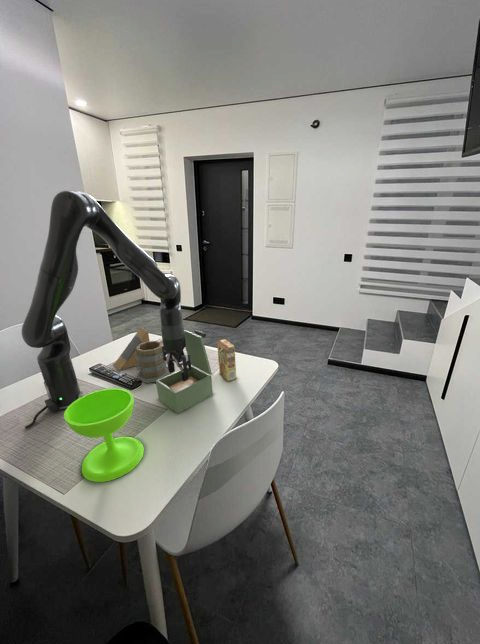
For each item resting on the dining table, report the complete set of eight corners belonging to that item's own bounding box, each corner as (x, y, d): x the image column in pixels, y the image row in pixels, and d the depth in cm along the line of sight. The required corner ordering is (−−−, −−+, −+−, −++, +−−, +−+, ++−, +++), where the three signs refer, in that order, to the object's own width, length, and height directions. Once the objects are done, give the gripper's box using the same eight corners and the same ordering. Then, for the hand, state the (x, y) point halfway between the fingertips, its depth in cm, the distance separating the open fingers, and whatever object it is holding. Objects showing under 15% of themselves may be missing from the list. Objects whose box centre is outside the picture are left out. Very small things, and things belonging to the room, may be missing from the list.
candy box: (236, 378, 121) (235, 345, 115) (227, 381, 119) (226, 348, 113) (227, 370, 128) (225, 338, 122) (218, 372, 125) (216, 340, 120)
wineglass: (115, 432, 90) (103, 383, 84) (156, 446, 85) (146, 395, 78) (67, 471, 77) (48, 416, 70) (112, 490, 71) (96, 432, 65)
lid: (200, 337, 98) (211, 331, 101) (179, 328, 106) (190, 323, 109) (210, 375, 106) (220, 368, 110) (190, 364, 114) (200, 358, 117)
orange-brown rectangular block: (178, 404, 103) (176, 392, 101) (169, 398, 106) (168, 386, 104) (200, 392, 110) (199, 381, 108) (192, 387, 113) (191, 376, 111)
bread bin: (177, 413, 99) (174, 393, 96) (158, 399, 107) (155, 380, 104) (212, 394, 110) (211, 375, 107) (193, 382, 118) (191, 365, 115)
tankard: (151, 385, 116) (146, 352, 110) (132, 377, 122) (125, 345, 116) (187, 365, 131) (184, 335, 126) (168, 359, 138) (164, 330, 132)
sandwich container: (113, 364, 133) (106, 334, 128) (146, 354, 143) (141, 326, 137) (119, 370, 127) (112, 339, 122) (152, 360, 137) (148, 331, 131)
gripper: (152, 332, 99) (158, 373, 105) (175, 343, 90) (180, 387, 96) (171, 327, 104) (176, 366, 110) (195, 337, 96) (198, 379, 102)
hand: (178, 376), depth 103 cm, fingers open, 8 cm apart
